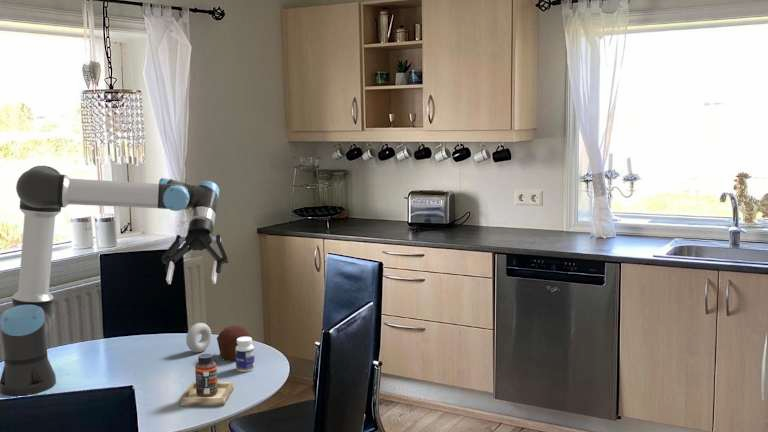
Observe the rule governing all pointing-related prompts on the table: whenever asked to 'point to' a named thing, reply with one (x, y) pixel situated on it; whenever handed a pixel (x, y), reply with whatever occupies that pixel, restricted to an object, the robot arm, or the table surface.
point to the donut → (192, 337)
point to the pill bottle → (244, 354)
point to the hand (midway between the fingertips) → (190, 281)
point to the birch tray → (216, 400)
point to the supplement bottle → (206, 376)
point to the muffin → (230, 341)
